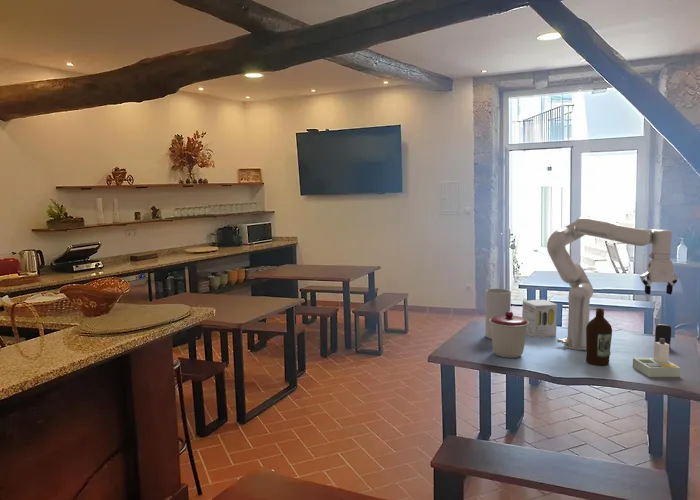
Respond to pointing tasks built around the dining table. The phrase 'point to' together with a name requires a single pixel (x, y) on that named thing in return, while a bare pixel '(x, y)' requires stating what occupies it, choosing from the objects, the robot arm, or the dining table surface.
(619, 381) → the dining table surface
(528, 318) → the supplement box
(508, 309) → the cylinder vase
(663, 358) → the plug
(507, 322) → the canister
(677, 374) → the socket block
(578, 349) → the robot arm
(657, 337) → the battery charger
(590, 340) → the olive oil
